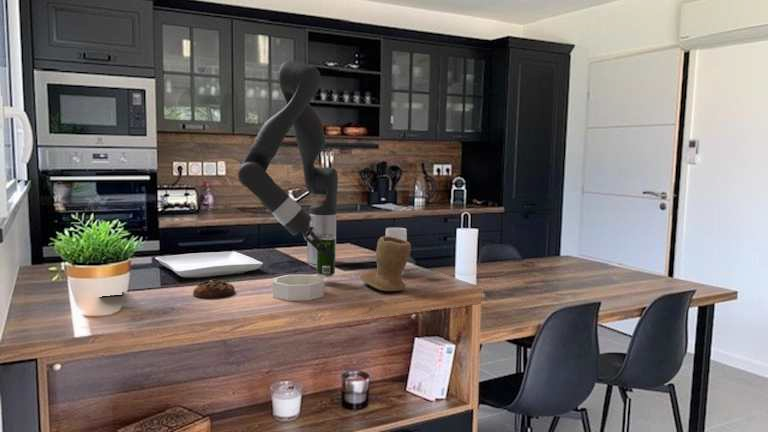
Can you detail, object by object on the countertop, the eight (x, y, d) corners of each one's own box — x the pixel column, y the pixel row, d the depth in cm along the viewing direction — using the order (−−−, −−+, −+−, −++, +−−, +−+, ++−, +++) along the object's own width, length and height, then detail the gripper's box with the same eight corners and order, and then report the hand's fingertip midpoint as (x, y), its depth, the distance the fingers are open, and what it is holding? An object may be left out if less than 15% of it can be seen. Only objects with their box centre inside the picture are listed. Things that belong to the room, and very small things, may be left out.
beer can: (336, 276, 169) (337, 236, 168) (318, 277, 167) (319, 236, 166) (332, 272, 174) (332, 233, 173) (314, 273, 172) (315, 233, 171)
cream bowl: (262, 294, 155) (262, 280, 155) (297, 286, 166) (297, 272, 166) (298, 303, 147) (298, 287, 147) (333, 293, 158) (333, 279, 158)
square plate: (264, 273, 183) (264, 261, 183) (176, 283, 168) (176, 270, 168) (234, 260, 206) (234, 249, 205) (154, 267, 190) (154, 255, 190)
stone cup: (416, 292, 162) (418, 239, 160) (377, 295, 157) (379, 241, 156) (394, 281, 176) (395, 232, 174) (358, 283, 171) (358, 233, 169)
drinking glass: (406, 273, 187) (407, 227, 185) (405, 277, 180) (406, 230, 179) (385, 272, 188) (386, 227, 186) (383, 276, 181) (384, 229, 179)
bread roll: (215, 301, 148) (213, 281, 148) (183, 301, 153) (182, 282, 153) (244, 293, 158) (242, 275, 158) (214, 294, 163) (212, 276, 163)
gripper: (301, 209, 160) (343, 251, 163) (300, 204, 174) (339, 243, 177) (281, 228, 160) (324, 270, 163) (282, 221, 174) (321, 260, 177)
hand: (332, 255), depth 170 cm, fingers closed on beer can, 5 cm apart
